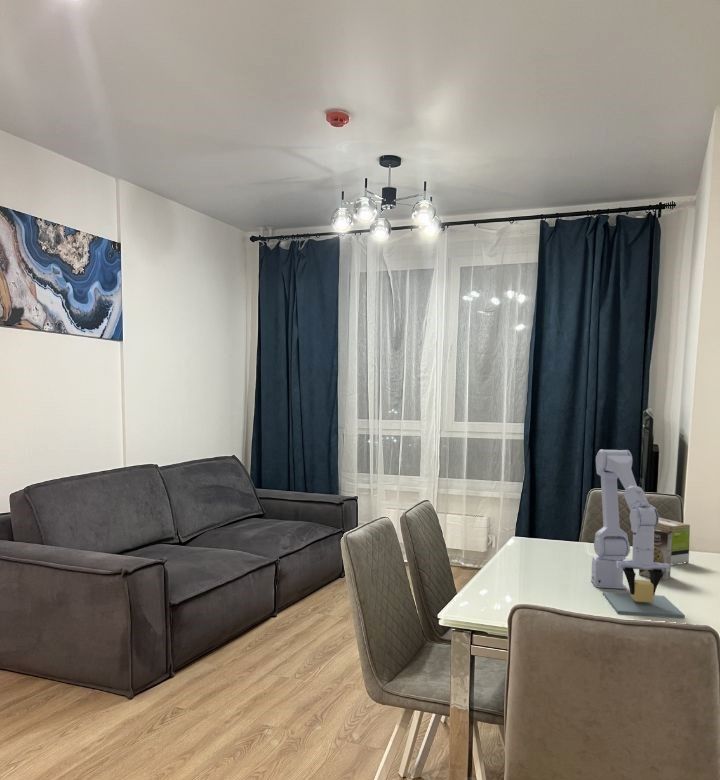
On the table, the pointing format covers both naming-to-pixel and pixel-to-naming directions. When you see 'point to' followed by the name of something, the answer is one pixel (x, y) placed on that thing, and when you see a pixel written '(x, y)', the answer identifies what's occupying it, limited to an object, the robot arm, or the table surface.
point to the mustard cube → (643, 591)
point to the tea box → (677, 539)
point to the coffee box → (661, 551)
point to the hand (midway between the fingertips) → (642, 594)
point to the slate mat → (643, 605)
